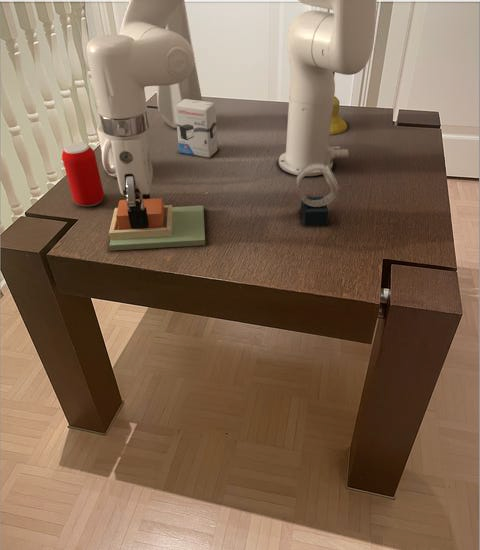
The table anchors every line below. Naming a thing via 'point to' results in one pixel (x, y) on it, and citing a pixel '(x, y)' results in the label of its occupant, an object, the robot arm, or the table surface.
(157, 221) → the orange box
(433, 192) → the table surface
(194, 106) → the ink box
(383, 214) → the table surface
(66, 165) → the beverage can
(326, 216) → the grey ring dark base
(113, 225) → the base pad
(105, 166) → the mug
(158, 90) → the vase
